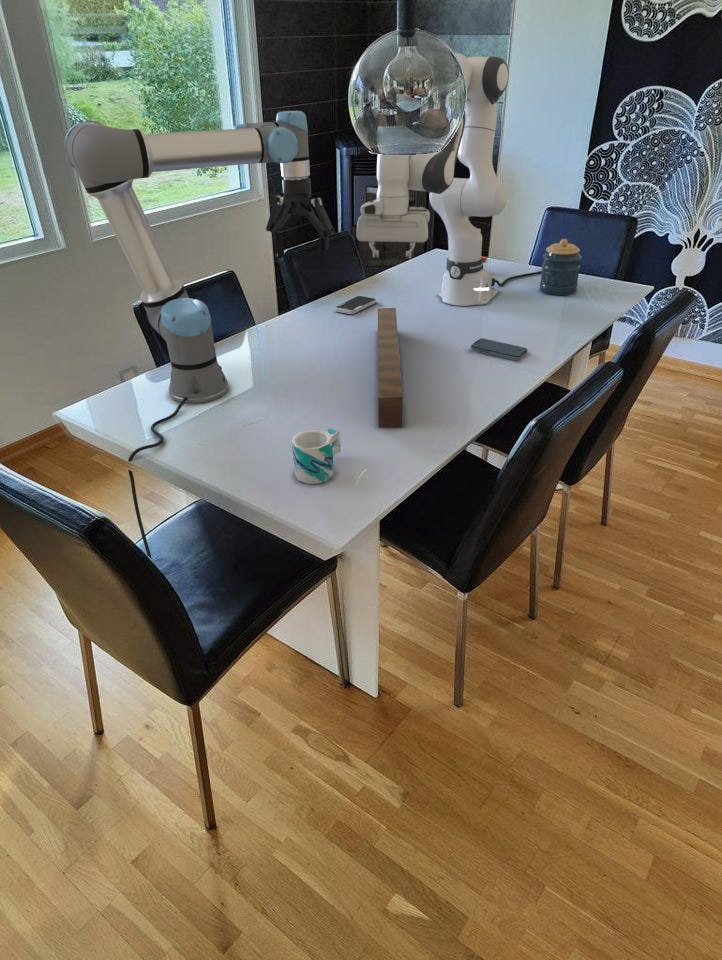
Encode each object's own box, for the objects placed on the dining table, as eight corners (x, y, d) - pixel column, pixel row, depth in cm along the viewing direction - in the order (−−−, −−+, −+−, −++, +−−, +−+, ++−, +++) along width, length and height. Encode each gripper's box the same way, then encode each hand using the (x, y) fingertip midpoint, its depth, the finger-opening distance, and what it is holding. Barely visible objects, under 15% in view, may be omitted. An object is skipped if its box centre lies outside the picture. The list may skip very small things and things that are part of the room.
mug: (287, 476, 140) (283, 442, 136) (320, 451, 149) (318, 418, 144) (319, 487, 137) (316, 452, 132) (351, 460, 145) (350, 426, 140)
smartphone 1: (376, 298, 233) (351, 311, 223) (376, 302, 234) (352, 315, 224) (358, 295, 237) (333, 307, 227) (358, 299, 238) (333, 311, 228)
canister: (550, 297, 232) (557, 245, 222) (532, 287, 242) (537, 236, 233) (584, 293, 235) (591, 241, 225) (564, 283, 245) (571, 233, 236)
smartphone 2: (518, 357, 186) (469, 345, 193) (518, 362, 187) (469, 351, 194) (528, 347, 191) (480, 337, 198) (528, 353, 192) (480, 342, 199)
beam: (402, 426, 158) (402, 397, 153) (378, 427, 158) (378, 397, 154) (395, 331, 210) (395, 307, 206) (378, 332, 210) (377, 308, 206)
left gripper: (344, 177, 176) (347, 259, 187) (262, 173, 185) (270, 252, 196) (332, 181, 170) (335, 266, 181) (248, 177, 179) (257, 259, 190)
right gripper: (430, 204, 187) (429, 255, 194) (358, 204, 190) (359, 254, 197) (429, 208, 181) (427, 261, 189) (354, 207, 184) (355, 259, 192)
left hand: (301, 259), depth 189 cm, fingers open, 13 cm apart
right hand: (392, 257), depth 193 cm, fingers open, 8 cm apart
